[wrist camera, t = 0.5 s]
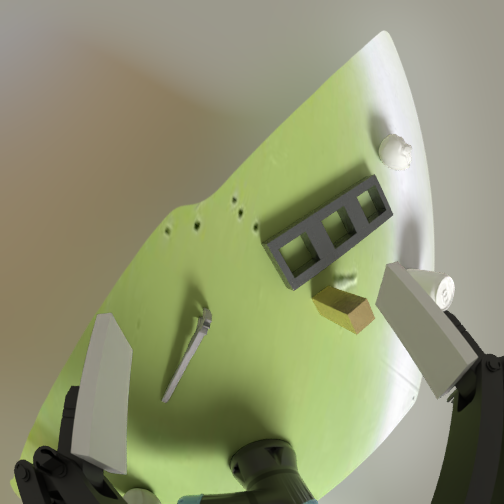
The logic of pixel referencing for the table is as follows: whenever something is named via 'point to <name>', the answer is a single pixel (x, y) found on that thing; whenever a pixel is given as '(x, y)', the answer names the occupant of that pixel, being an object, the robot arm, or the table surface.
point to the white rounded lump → (395, 153)
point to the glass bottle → (140, 497)
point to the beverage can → (435, 286)
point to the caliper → (189, 352)
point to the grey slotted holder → (318, 237)
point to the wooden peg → (344, 308)
